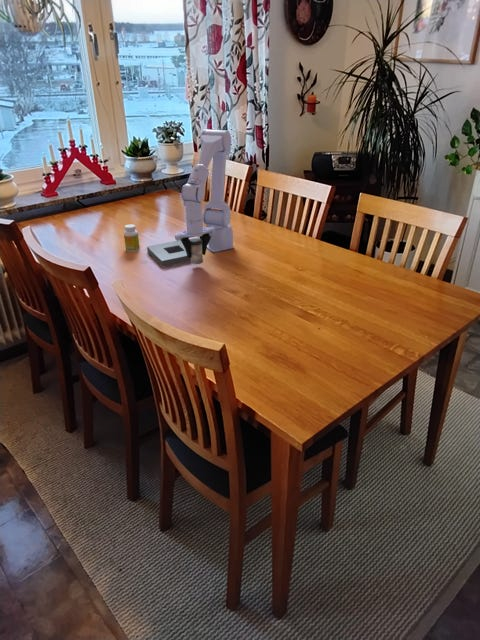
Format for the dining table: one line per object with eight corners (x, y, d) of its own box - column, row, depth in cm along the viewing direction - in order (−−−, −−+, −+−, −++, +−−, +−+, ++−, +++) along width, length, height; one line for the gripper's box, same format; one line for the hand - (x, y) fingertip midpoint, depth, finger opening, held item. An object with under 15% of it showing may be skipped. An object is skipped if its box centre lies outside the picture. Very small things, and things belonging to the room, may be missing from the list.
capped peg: (200, 257, 177) (199, 237, 173) (206, 262, 173) (205, 242, 169) (187, 260, 175) (185, 239, 170) (193, 265, 171) (191, 244, 167)
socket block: (185, 244, 193) (185, 239, 192) (202, 258, 181) (201, 252, 180) (147, 252, 187) (146, 246, 185) (162, 267, 175) (161, 260, 173)
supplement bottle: (136, 252, 187) (133, 228, 182) (123, 251, 188) (120, 227, 183) (141, 247, 191) (139, 224, 186) (129, 246, 192) (126, 223, 187)
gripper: (179, 226, 159) (182, 263, 166) (218, 218, 165) (219, 255, 172) (171, 219, 165) (174, 256, 172) (209, 213, 171) (210, 248, 178)
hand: (196, 255), depth 172 cm, fingers closed on capped peg, 5 cm apart
